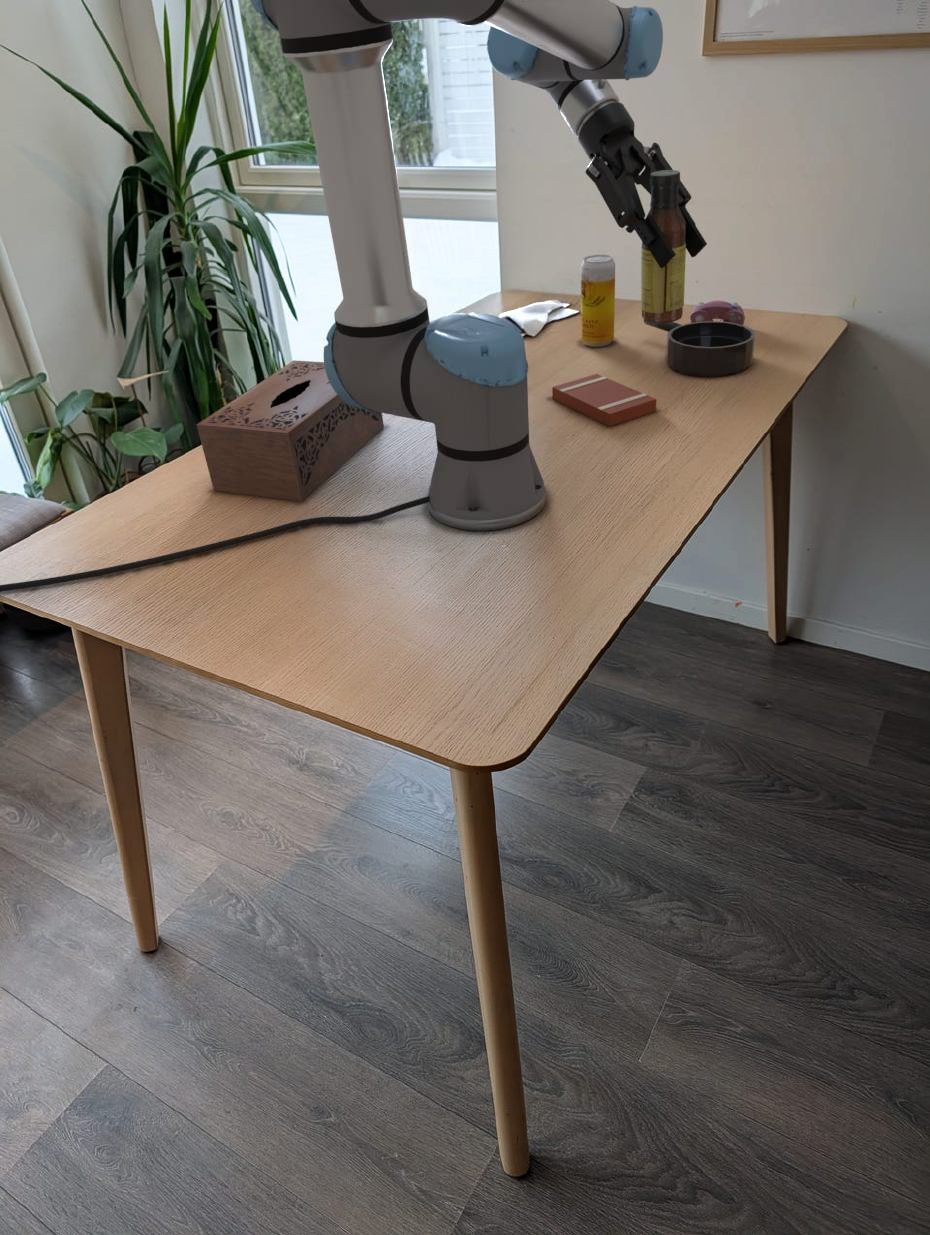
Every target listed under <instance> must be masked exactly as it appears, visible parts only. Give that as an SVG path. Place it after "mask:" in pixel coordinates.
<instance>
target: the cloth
mask: <svg viewBox="0 0 930 1235" xmlns="http://www.w3.org/2000/svg"><path fill="white" fill-rule="evenodd" d="M569 306H571V305H570V303H567V302H561V301H560V300H558V299H548V300H545V301H542V302H534V303H531V304H528V305H525V306H523V307H519V308H517V309H513V310H508V311H504V312H502V313H499V315H498V316H497V317H499V318H502V319H505V320H507V321H509V322H510V323H512V324H513V325H515V326H516V327H517V328H518V330H519V331H520V333H521V335H522V336H523V337H524V336H526V335H528V336H530V337H534V338H535V336H537V334H539V333H540V332H541V330H542V329H543V328H544V326H545V325H546V324H548V323H551V322H552V321H557V320H558V321H559V320H561V319H565V318H567V317H570V316H573V315H575V314H578V313H580V311H579V310H576V309H572V308H567V307H569Z"/></svg>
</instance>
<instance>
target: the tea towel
mask: <svg viewBox="0 0 930 1235" xmlns="http://www.w3.org/2000/svg"><path fill="white" fill-rule="evenodd" d="M551 390H552V400H555V401H556V402H559V403H561V404H563V405H565V406H566V407H569V408H571V409H572V410H574V411H577V412H579V413H581V414H583V415H585V416H587V417H589V418H591V419H593V420H595V421H598V422H600V423H602V424H604V425H606V426H608V427H612V426H615V425H618V424H622V423H624V422H627V421H630V420H633V419H637V418H639V417H642V416H645V415H648V414H652V413H654V412H657V398H655V397H652V396H650V395H649V394H647V393H646V392H641V391H639V390H636V389H633V388H631V387H629V386H627V385H624V384H622V383H620V382H617V381H615V380H612V379H610V378H609V377H606V376H603V375H600V374H598V373H595V374H591V375H587V376H585V377H581V378H577V379H575V380H571V381H567V382H564V383H561V384H557V385H554V386H552V387H551Z"/></svg>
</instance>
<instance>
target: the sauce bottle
mask: <svg viewBox="0 0 930 1235" xmlns="http://www.w3.org/2000/svg"><path fill="white" fill-rule="evenodd" d="M680 181H681V171H679V170H677V169H673V170H662V171H656V172H653V173H651V174H650V185H651V195H650V203H649V207H650V209H649V210H648V212H647V215H645V217H644V218H645V219H646V218H647V217H648V216H652V217H653V219H654V221H655V222H656V224H657V225H658V227H659V229H660V230H661V232H662V233H663V235H664V237H665V238H666V240H667V241H668V243H669V245H670V246H671V248H672V249H673V251H674V253H675V254H676V255H675V256H674V257H673V258H672V259H671V260H670V261H669V263H668V264H667V265H666V266H665V267H663V268H660V266H659V265H658V263H657V262H656V260H655V258H654V257H653V255H652V254H651V252H650V250H649V249H648V247H646V246H645V245H644V244H643V242H642V241H641V249H640V250H641V256H640V266H641V267H640V309H641V317H642V319H643V321H644V320H646V321H648V322H651V323H669V322H677V321H679V320H681V319H682V317H683V314H684V308H683V307H685V306H684V305H685V287H686V286H685V285H686V284H685V282H686V256H687V255H686V254H687V253H686V252H687V249H686V242H685V230H686V222H685V219H684V217H683V215H682V213H681V210H680V208H679V206H678V203H679V202H678V185H679V182H680Z"/></svg>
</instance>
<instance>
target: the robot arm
mask: <svg viewBox="0 0 930 1235" xmlns="http://www.w3.org/2000/svg"><path fill="white" fill-rule="evenodd" d="M249 1H250V3H251V6H252V8H253V9H254V11H255V12H256V13H259V14H260V19H261V20H262V21H263V23H264V24H265V25H267V26H268V27H269V28H271V29H273V30H274V31H276V32H278V34H279V38H280V43H281V48H282V54H283V57H284V58H285V59H286V60H287V61H289V63H291V64H292V65H293V66H294V67H295V68H296V69H298V71H299V72H300V74H301V77H302V82H303V87H304V88H303V89H304V93H305V98H306V105H307V109H308V110H307V111H308V115H309V121H310V126H311V131H312V137H313V142H314V147H315V152H316V158H317V163H318V169H319V174H320V179H321V185H322V190H323V196H324V201H325V206H326V212H327V217H328V222H329V228H330V234H331V239H332V245H333V249H334V256H335V261H336V265H337V272H338V276H339V281H340V282H339V283H340V286H341V287H340V288H341V294H342V296H343V297H342V300H341V302H340V304H338V306H337V308H336V309H335V310H334V314H333V316H334V322H333V324H332V325H331V327H330V328H329V330H328V331H327V334H326V338H325V339H326V341H327V345H325V346H323V362H324V366H325V371H326V374H327V377H328V380H329V382H330V384H331V386H332V388H333V389H334V391H335V392H336V393H337V395H338V396H339V397H340V398H341V399H343V400H344V401H345V402H347V403H348V404H351V405H353V406H356V407H360V408H362V409H365V410H367V411H369V412H373V413H382V414H385V415H391V416H396V417H401V418H406V419H411V420H416V421H420V422H425V423H426V422H427V423H431V424H434V429H435V438H436V448H437V453H436V458H435V461H434V467H433V469H432V470H433V471H432V475H431V479H430V484H429V487H428V494H427V495H426V496H424V497H420V498H416V499H414V500H411V501H407V502H404V503H401V504H398V505H395V506H392V507H389V508H386V509H384V510H381V511H378V512H375V513H370V514H363V515H355V516H318V517H312V518H305V519H301V520H296V521H292V522H288V523H284V524H282V525H278V526H274V527H271V528H267V529H263V530H259V531H256V532H252V533H248V534H244V535H241V536H237V537H233V538H229V539H224V540H221V541H217V542H213V543H209V544H204V545H201V546H197V547H193V548H188V549H185V550H180V551H176V552H171V553H166V554H164V555H159V556H155V557H151V558H146V559H142V560H136V561H132V562H127V563H122V564H119V565H113V566H109V567H103V568H99V569H94V570H88V571H83V572H77V573H70V574H66V575H60V576H53V577H47V578H40V579H34V580H28V581H19V582H13V583H5V584H0V593H3V592H10V591H16V590H25V589H32V588H38V587H45V586H51V585H57V584H63V583H68V582H69V583H70V582H74V581H75V582H76V581H81V580H85V579H91V578H97V577H101V576H107V575H111V574H117V573H120V572H121V573H122V572H125V571H131V570H134V569H139V568H144V567H149V566H153V565H157V564H162V563H166V562H170V561H173V560H174V561H175V560H178V559H183V558H186V557H190V556H195V555H199V554H202V553H206V552H211V551H214V550H219V549H222V548H223V549H224V548H227V547H231V546H234V545H238V544H242V543H247V542H250V541H254V540H257V539H261V538H266V537H269V536H272V535H276V534H279V533H283V532H286V531H289V530H293V529H298V528H302V527H306V526H307V527H308V526H313V525H318V524H319V525H320V524H321V525H322V524H357V523H366V522H371V521H372V522H373V521H376V520H379V519H382V518H385V517H388V516H391V515H393V514H396V513H399V512H402V511H405V510H408V509H412V508H415V507H419V506H421V505H425V504H428V507H429V512H430V513H431V516H433V518H434V519H436V520H437V521H438V522H440V523H442V524H444V525H446V526H448V527H452V528H456V529H459V530H467V531H494V530H501V529H506V528H510V527H515V526H518V525H520V524H523V523H525V522H527V521H529V520H531V519H532V518H534V517H536V516H537V515H538V514H539V513H541V511H542V510H543V508H544V507H545V505H546V487H545V482H544V479H543V476H542V474H541V471H540V469H539V465H538V464H537V461H536V459H535V455H534V454H533V450H532V448H531V445H530V424H529V423H530V422H529V421H530V420H529V394H528V393H529V392H528V372H529V363H528V360H527V353H526V345H525V344H526V343H525V339H524V336H522V335H521V333H520V331H519V330H518V328H517V327H516V326H515V325H513V324H512V323H510V322H509V321H507V320H505V319H502V318H499V317H498V316H496V315H494V314H493V315H492V314H488V313H483V312H470V313H464V312H453V313H446V314H443V315H440V316H438V317H435V318H434V319H432V320H431V321H430V314H429V307H428V301H427V299H426V298H425V297H424V296H423V295H422V294H420V293H419V292H417V291H416V290H415V289H414V286H413V281H412V280H413V279H412V274H411V266H410V258H409V251H408V244H407V243H408V242H407V239H406V229H405V224H404V223H405V221H404V215H403V207H402V200H401V193H400V186H399V180H398V173H397V172H398V171H397V165H396V164H397V163H396V157H395V150H394V143H393V137H392V136H393V135H392V128H391V122H390V113H389V109H388V108H389V107H388V106H389V105H388V99H387V92H386V86H385V79H384V78H385V77H384V72H383V64H382V63H383V60H384V57H385V55H386V53H387V52H388V50H389V49H390V47H391V46H392V44H393V43H394V39H393V38H394V37H393V30H392V24H393V23H397V22H406V21H417V20H446V21H447V20H448V21H453V22H455V23H457V24H460V25H462V26H466V27H476V26H479V25H482V24H487V25H489V26H490V29H489V31H488V35H487V41H486V52H487V57H488V60H489V62H490V64H491V66H492V68H493V69H494V70H495V71H496V72H497V73H499V74H501V75H503V76H505V77H506V78H507V79H509V80H511V81H517V82H521V83H523V84H526V85H529V86H533V87H536V88H538V89H541V90H545V91H546V92H547V93H548V95H549V96H550V98H551V99H552V101H553V103H554V104H555V106H556V107H557V109H558V111H559V112H560V114H561V116H562V118H563V119H564V121H565V122H566V124H567V126H568V127H569V129H570V131H571V132H572V134H573V136H574V137H575V138H577V141H578V143H579V145H580V146H581V148H582V149H583V151H584V153H585V154H586V156H587V157H588V159H589V160H590V163H589V164H588V166H587V167H586V168H585V170H584V172H585V175H586V176H588V178H589V179H590V180H591V181H592V182H593V184H595V187H596V188H597V190H598V191H599V194H600V196H601V197H602V199H603V200H604V202H605V204H606V206H607V208H608V210H609V211H610V213H611V215H612V217H613V219H614V221H615V222H616V224H617V226H618V227H619V228H621V229H624V228H625V227H626V228H625V231H626V232H627V233H629V234H633V232H634V231H635V232H636V234H637V236H638V238H639V239H640V240H641V243H642V242H643V244H644V245H645V246H646V247H648V249H649V250H650V252H651V254H652V255H653V257H654V258H655V260H656V262H657V263H658V265H659V266H660V268H663V267H665V266H666V265H667V264H668V263H669V261H670V260H671V259H672V258H673V257H674V256H675V255H676V254H675V253H674V251H673V249H672V248H671V246H670V245H669V243H668V241H667V240H666V238H665V237H664V235H663V233H662V232H661V230H660V229H659V227H658V225H657V224H656V222H655V221H654V219H653V217H652V216H648V217H647V218H646V212H645V209H644V206H643V203H642V201H641V197H640V195H639V192H638V188H637V186H639V185H641V186H642V187H643V188H644V189H645V191H646V192H647V193H648V194H649V195H650V196H651V185H650V174H651V173H653V172H656V171H662V170H674V169H673V168H672V166H671V165H670V163H669V162H668V160H667V159H666V157H665V156H664V154H663V151H662V149H661V147H660V146H661V145H659V143H657V142H653V143H652V144H651V145H650V146H645V145H644V144H643V143H642V142H641V141H640V140H639V139H638V138H637V137H636V136H635V126H636V124H635V121H634V120H633V118H632V116H631V115H630V113H629V111H628V110H627V108H626V107H625V105H624V104H623V103H622V102H620V98H619V96H618V94H617V93H616V91H615V90H614V88H613V87H612V85H611V84H610V83H609V81H608V80H625V81H629V80H631V79H641V78H647V77H649V76H651V75H652V74H653V73H654V71H655V70H656V69H657V67H658V65H659V62H660V59H661V55H662V52H663V51H662V50H663V44H664V31H663V22H662V19H661V17H660V14H659V12H658V11H657V9H655V8H653V7H651V6H650V7H649V6H637V5H634V6H632V7H621V6H619V5H617V4H616V3H614V2H612V1H610V0H249ZM636 185H637V186H636ZM691 200H692V195H691V193H690V191H688V189H687V187H686V186H685V184H684V183H683V182H682V181H681V180H680V182H679V185H678V202H679V203H678V206H679V208H680V210H681V213H682V215H683V217H684V219H685V222H686V230H685V242H686V252H688V254H689V255H690V257H691V258H695V257H697V255H698V254H699V253H700V252H701V251H703V249H704V248H705V247H706V246H707V245H708V243H707V241H706V239H705V238H704V237H703V235H702V233H701V231H700V230H699V229H698V227H697V225H696V221H695V220H694V219H693V217H692V216H691V214H690V212H689V210H688V209H687V204H688V203H689V202H690V201H691ZM645 218H646V219H645Z"/></svg>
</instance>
